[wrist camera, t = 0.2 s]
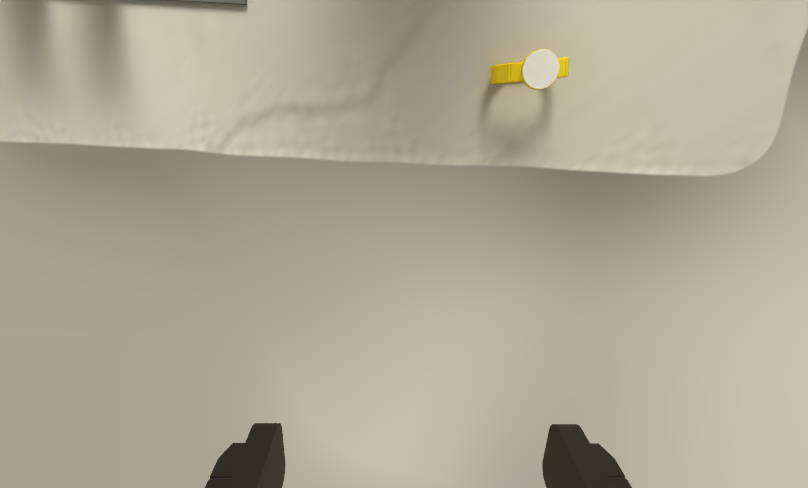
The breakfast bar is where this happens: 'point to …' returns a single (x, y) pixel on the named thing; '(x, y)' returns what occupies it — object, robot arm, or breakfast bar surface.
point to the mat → (220, 1)
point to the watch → (532, 70)
